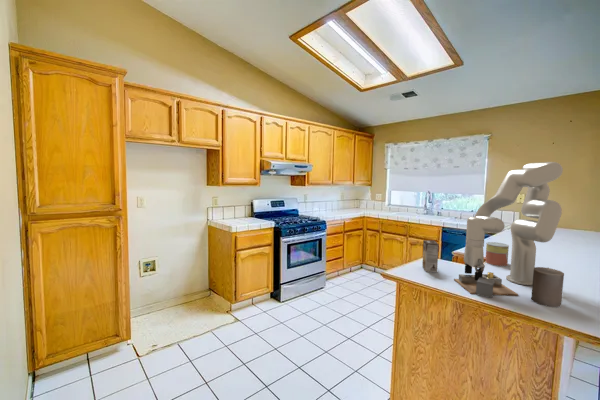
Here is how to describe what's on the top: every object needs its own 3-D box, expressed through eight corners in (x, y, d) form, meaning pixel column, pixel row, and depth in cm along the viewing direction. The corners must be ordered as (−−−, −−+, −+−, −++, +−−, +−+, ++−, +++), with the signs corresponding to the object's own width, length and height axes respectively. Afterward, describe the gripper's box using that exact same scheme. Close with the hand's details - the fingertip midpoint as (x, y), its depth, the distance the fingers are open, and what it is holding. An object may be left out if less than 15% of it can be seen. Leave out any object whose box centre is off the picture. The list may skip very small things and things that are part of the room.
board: (495, 282, 142) (496, 280, 142) (518, 296, 125) (518, 294, 125) (454, 280, 144) (454, 278, 144) (470, 293, 127) (470, 292, 127)
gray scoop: (493, 280, 142) (493, 274, 141) (501, 285, 135) (501, 279, 135) (456, 279, 144) (457, 273, 143) (463, 284, 137) (463, 277, 137)
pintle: (491, 282, 140) (491, 272, 139) (493, 283, 137) (494, 273, 137) (486, 281, 140) (486, 272, 140) (488, 283, 138) (489, 273, 137)
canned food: (508, 267, 166) (509, 247, 165) (485, 264, 172) (486, 244, 171) (507, 262, 175) (508, 243, 174) (485, 259, 181) (486, 241, 180)
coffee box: (421, 266, 166) (422, 239, 165) (433, 267, 165) (434, 240, 164) (425, 271, 157) (426, 243, 156) (437, 272, 156) (439, 243, 155)
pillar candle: (525, 297, 124) (527, 264, 122) (545, 296, 124) (548, 263, 123) (545, 308, 114) (549, 272, 113) (568, 307, 115) (571, 271, 113)
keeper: (478, 289, 132) (479, 277, 132) (494, 293, 128) (495, 280, 128) (475, 294, 127) (476, 281, 126) (491, 298, 123) (492, 284, 123)
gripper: (458, 238, 147) (457, 270, 148) (475, 246, 130) (473, 282, 131) (474, 238, 146) (472, 271, 147) (493, 247, 129) (491, 283, 130)
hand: (473, 276), depth 139 cm, fingers open, 9 cm apart
